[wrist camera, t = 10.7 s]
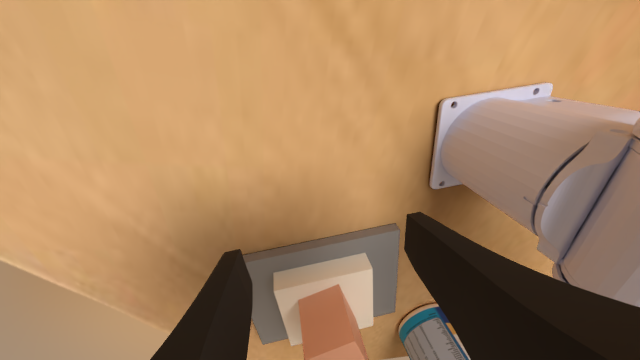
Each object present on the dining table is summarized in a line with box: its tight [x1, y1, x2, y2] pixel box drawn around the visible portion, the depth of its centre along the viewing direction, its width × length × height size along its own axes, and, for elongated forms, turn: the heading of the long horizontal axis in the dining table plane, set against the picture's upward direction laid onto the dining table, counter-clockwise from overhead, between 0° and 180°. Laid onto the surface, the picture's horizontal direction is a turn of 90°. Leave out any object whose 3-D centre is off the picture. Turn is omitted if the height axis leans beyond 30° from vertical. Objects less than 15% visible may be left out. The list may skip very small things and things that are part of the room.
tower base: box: [242, 223, 400, 346], centre depth 25 cm, size 16×13×3 cm
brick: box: [298, 284, 369, 360], centre depth 21 cm, size 4×6×5 cm, turn 20°
